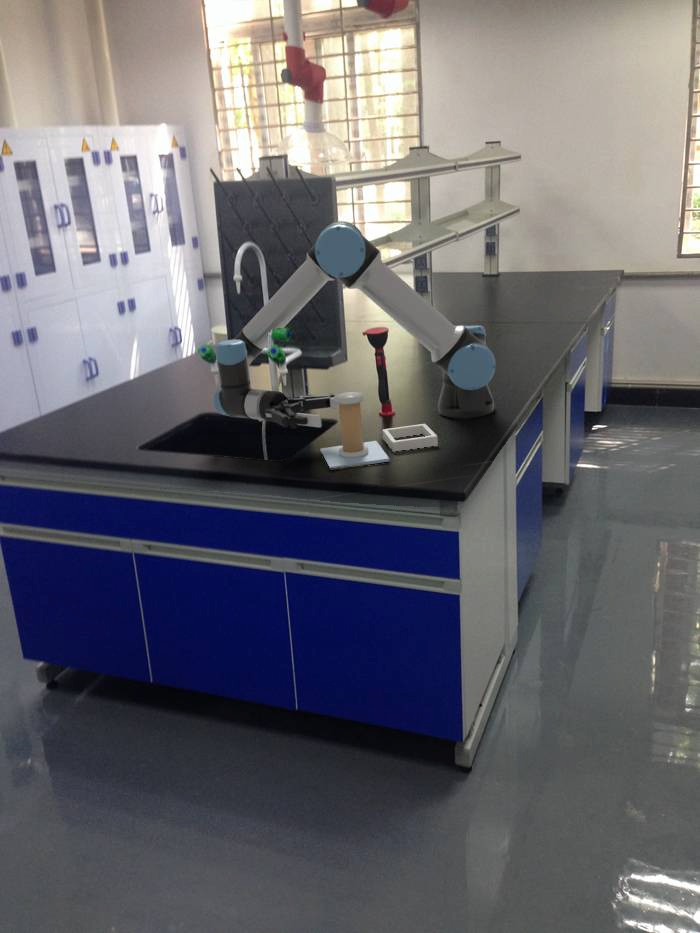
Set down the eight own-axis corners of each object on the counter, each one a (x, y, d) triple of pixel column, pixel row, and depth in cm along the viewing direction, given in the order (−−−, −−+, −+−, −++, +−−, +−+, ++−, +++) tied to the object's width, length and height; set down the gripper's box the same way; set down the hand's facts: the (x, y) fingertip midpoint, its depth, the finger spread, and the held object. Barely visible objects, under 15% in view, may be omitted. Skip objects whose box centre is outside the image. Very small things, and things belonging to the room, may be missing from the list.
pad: (376, 444, 206) (376, 440, 205) (389, 462, 193) (389, 458, 192) (320, 452, 204) (320, 448, 203) (330, 471, 191) (329, 466, 190)
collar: (425, 433, 211) (424, 423, 210) (437, 445, 201) (437, 436, 200) (383, 439, 209) (382, 429, 208) (393, 452, 199) (392, 442, 198)
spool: (366, 446, 202) (361, 390, 197) (370, 456, 195) (365, 398, 190) (337, 450, 201) (332, 394, 196) (340, 459, 194) (335, 401, 190)
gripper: (299, 406, 219) (366, 413, 207) (236, 434, 200) (307, 444, 188) (296, 378, 216) (364, 384, 204) (232, 404, 197) (303, 412, 185)
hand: (337, 413), depth 196 cm, fingers open, 13 cm apart
